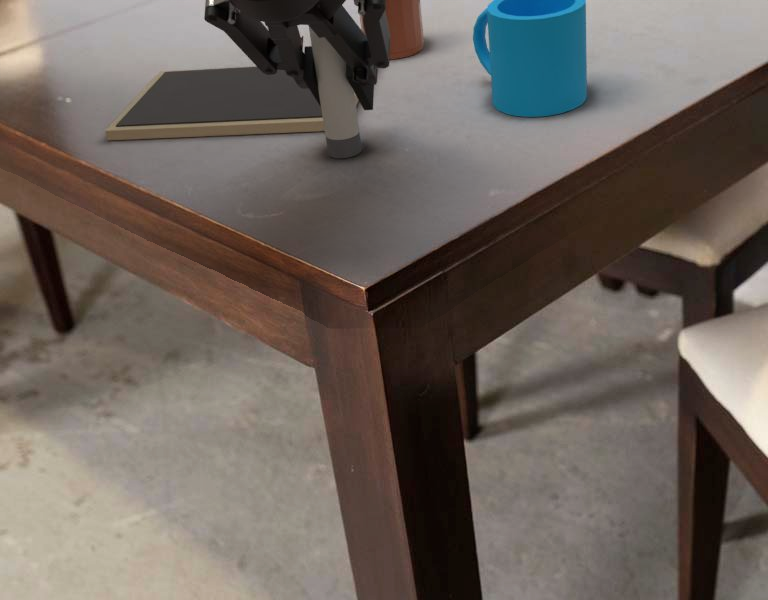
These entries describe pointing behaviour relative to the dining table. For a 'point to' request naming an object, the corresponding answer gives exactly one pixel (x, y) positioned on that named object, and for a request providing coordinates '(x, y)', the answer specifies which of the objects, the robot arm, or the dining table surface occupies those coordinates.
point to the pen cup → (403, 27)
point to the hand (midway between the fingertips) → (348, 95)
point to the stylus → (335, 100)
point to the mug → (534, 55)
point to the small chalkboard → (218, 105)
